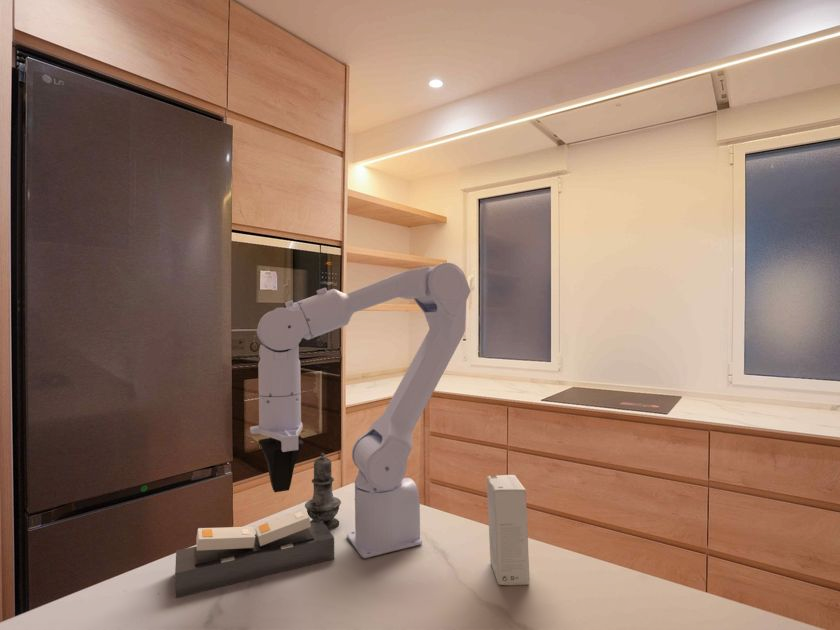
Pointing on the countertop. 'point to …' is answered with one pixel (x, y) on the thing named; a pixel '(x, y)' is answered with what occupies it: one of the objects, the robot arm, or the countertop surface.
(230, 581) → the power strip
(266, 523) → the rocker outlet
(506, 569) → the skincare box
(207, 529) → the white rocker switch
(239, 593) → the countertop surface
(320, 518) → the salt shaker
